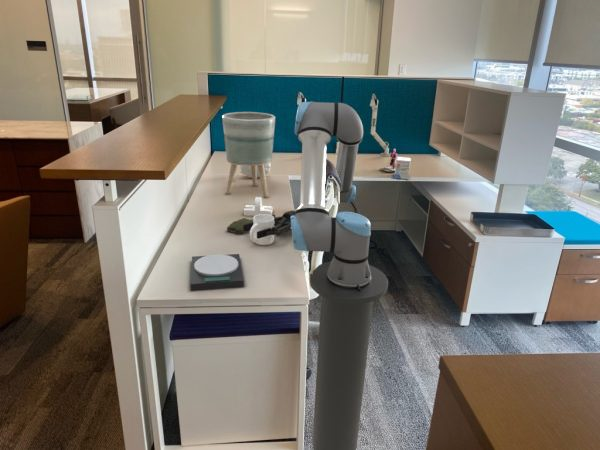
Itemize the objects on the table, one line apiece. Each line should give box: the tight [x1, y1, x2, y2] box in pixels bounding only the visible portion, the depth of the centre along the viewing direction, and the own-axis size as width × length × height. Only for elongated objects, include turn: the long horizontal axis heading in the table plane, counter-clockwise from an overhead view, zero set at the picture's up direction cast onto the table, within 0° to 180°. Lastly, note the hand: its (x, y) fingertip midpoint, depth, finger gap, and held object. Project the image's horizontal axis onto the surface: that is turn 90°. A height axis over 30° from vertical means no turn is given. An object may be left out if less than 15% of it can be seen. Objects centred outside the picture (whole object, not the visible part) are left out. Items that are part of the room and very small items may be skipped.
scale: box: [190, 253, 245, 291], centre depth 153 cm, size 20×17×3 cm
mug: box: [249, 214, 275, 246], centre depth 177 cm, size 12×8×10 cm
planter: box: [221, 111, 276, 198], centre depth 231 cm, size 26×26×40 cm
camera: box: [239, 162, 272, 179], centre depth 261 cm, size 11×18×16 cm, turn 97°
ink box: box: [393, 156, 412, 180], centre depth 274 cm, size 9×8×12 cm
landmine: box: [226, 217, 253, 236], centre depth 191 cm, size 14×3×15 cm
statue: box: [379, 148, 398, 173], centre depth 286 cm, size 11×9×15 cm
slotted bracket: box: [243, 196, 274, 217], centre depth 208 cm, size 13×7×8 cm, turn 88°
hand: (250, 231), depth 174 cm, fingers closed on mug, 8 cm apart
